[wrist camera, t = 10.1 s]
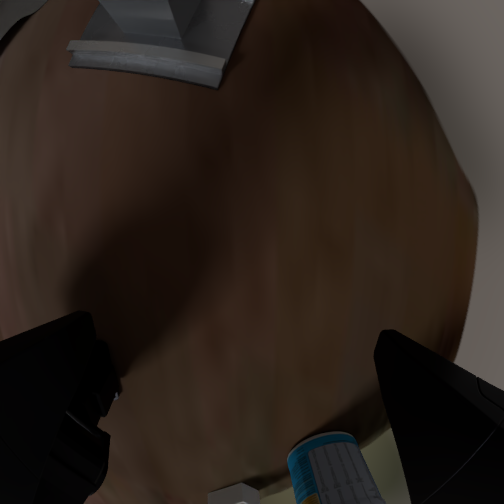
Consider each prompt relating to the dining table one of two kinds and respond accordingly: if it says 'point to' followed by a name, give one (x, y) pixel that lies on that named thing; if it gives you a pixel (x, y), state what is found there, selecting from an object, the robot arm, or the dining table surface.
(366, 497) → the beverage bottle
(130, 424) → the dining table surface
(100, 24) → the din rail
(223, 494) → the white angled block
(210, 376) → the dining table surface
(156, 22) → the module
